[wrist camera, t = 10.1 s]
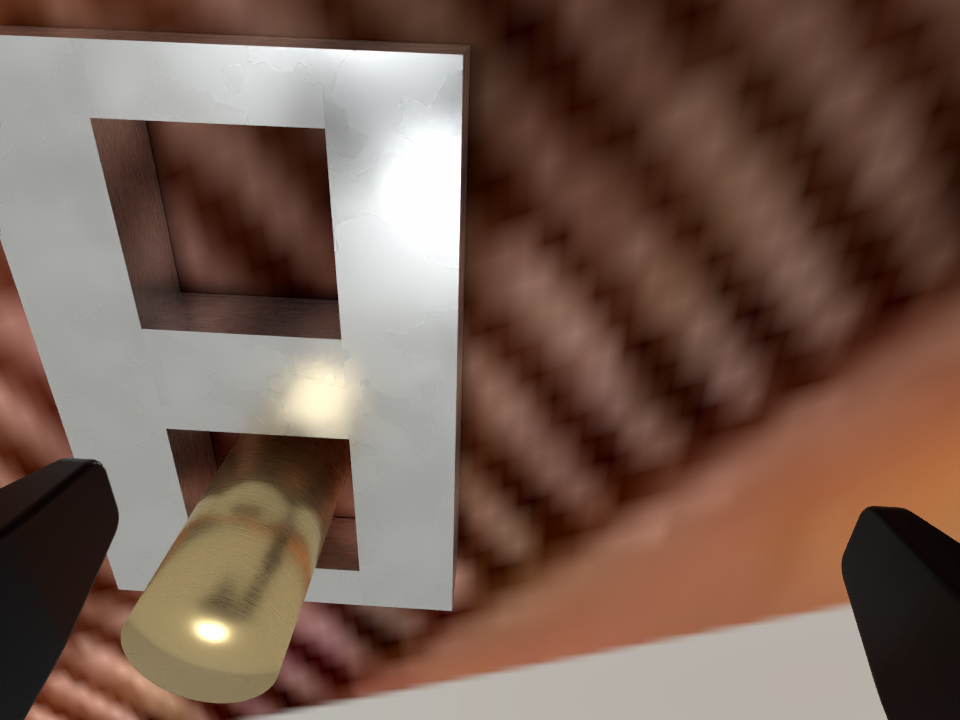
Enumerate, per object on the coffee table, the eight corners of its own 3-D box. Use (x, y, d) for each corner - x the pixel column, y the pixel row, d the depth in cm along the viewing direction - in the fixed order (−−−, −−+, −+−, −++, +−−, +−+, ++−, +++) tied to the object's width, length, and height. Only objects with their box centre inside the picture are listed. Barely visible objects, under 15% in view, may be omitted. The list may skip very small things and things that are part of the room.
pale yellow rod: (345, 414, 23) (269, 605, 16) (352, 503, 25) (287, 708, 18) (229, 407, 23) (103, 594, 16) (245, 496, 25) (140, 697, 18)
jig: (470, 44, 17) (463, 54, 15) (457, 557, 26) (452, 610, 24) (4, 25, 17) (-70, 31, 15) (151, 538, 26) (118, 589, 24)
